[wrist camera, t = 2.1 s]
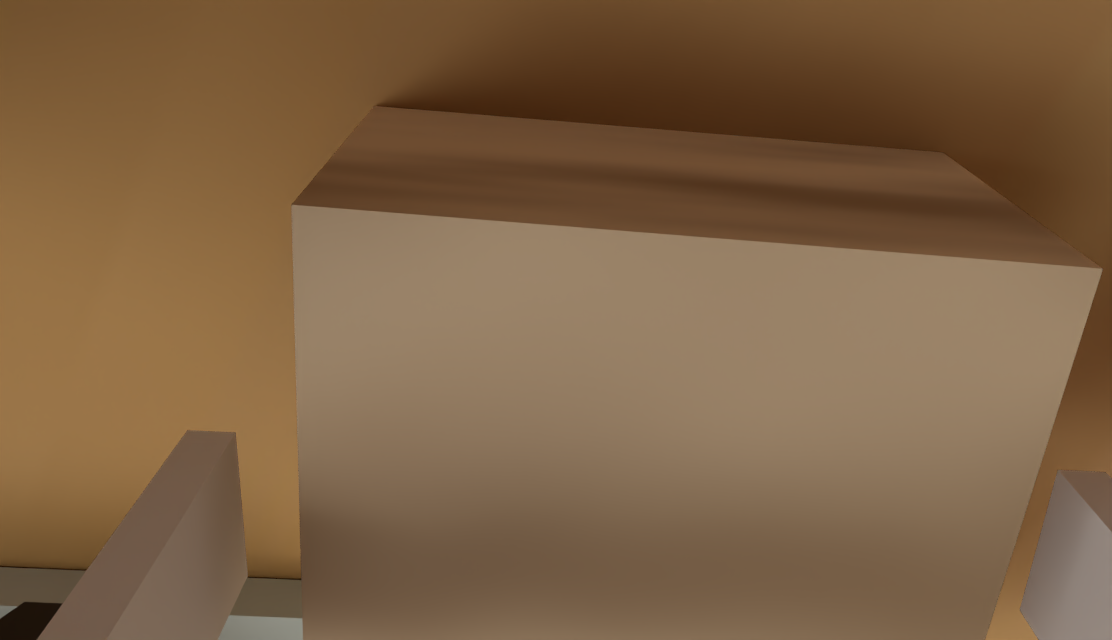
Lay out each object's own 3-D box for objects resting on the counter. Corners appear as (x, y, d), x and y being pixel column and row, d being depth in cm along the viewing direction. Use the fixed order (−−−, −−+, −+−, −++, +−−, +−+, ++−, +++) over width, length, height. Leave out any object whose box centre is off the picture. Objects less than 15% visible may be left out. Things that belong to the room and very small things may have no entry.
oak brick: (376, 103, 18) (291, 205, 12) (938, 148, 18) (1102, 269, 12) (372, 567, 22) (307, 800, 16) (832, 599, 22) (920, 840, 16)
